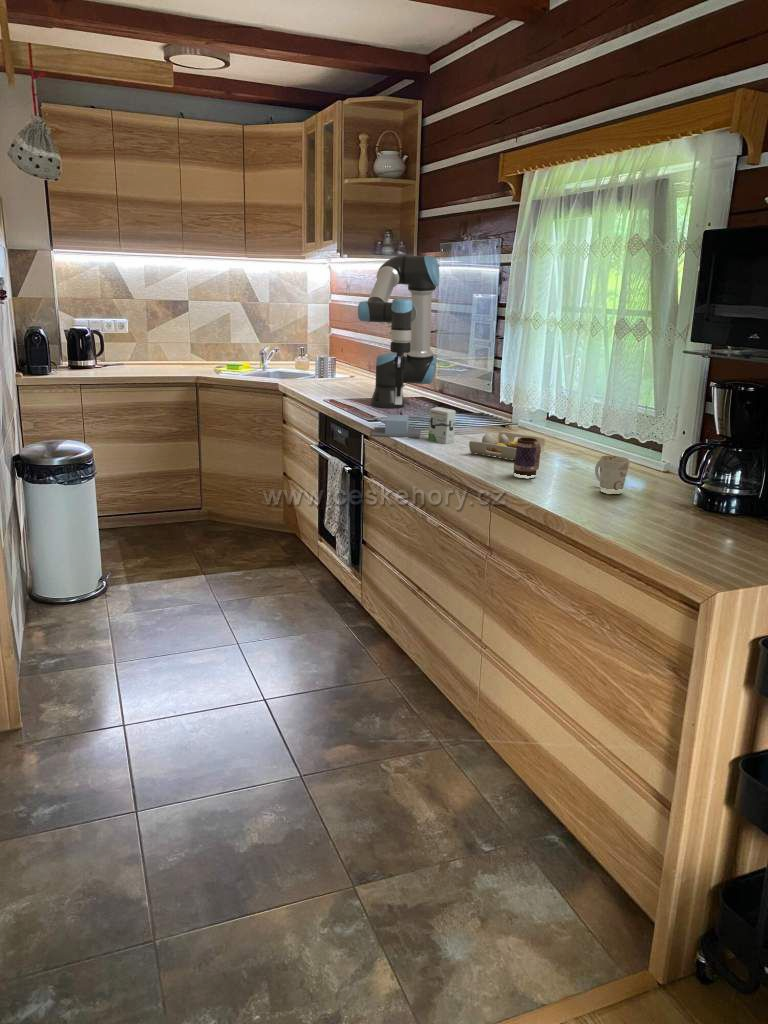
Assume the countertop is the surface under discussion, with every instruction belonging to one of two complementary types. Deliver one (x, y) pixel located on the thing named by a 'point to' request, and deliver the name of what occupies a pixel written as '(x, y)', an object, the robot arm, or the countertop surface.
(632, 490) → the countertop surface
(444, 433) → the ink box
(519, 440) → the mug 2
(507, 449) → the toy food set
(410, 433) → the mat
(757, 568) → the countertop surface
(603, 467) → the mug
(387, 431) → the block
